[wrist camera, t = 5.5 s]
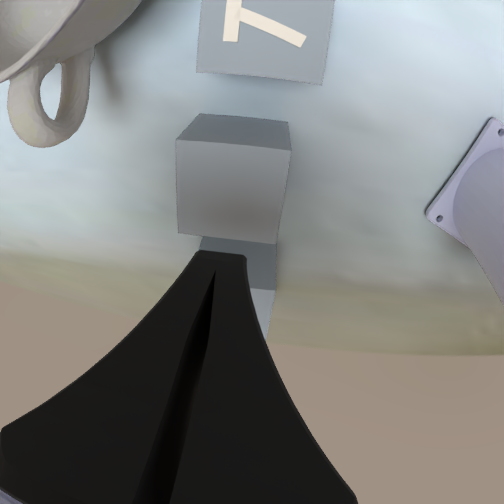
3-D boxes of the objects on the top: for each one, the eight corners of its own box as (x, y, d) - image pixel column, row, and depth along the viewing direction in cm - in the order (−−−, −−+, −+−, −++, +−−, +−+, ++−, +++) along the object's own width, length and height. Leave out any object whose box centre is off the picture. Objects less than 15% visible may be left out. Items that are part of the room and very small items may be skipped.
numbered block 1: (276, 238, 20) (275, 293, 16) (267, 289, 23) (265, 343, 19) (204, 231, 20) (188, 283, 16) (205, 282, 23) (192, 334, 19)
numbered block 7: (320, -9, 11) (338, -27, 7) (309, 73, 13) (322, 85, 10) (225, -19, 11) (204, -40, 7) (217, 63, 13) (195, 72, 10)
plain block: (287, 121, 15) (291, 151, 12) (276, 196, 18) (275, 244, 14) (200, 113, 15) (175, 139, 12) (198, 188, 18) (178, 233, 14)
